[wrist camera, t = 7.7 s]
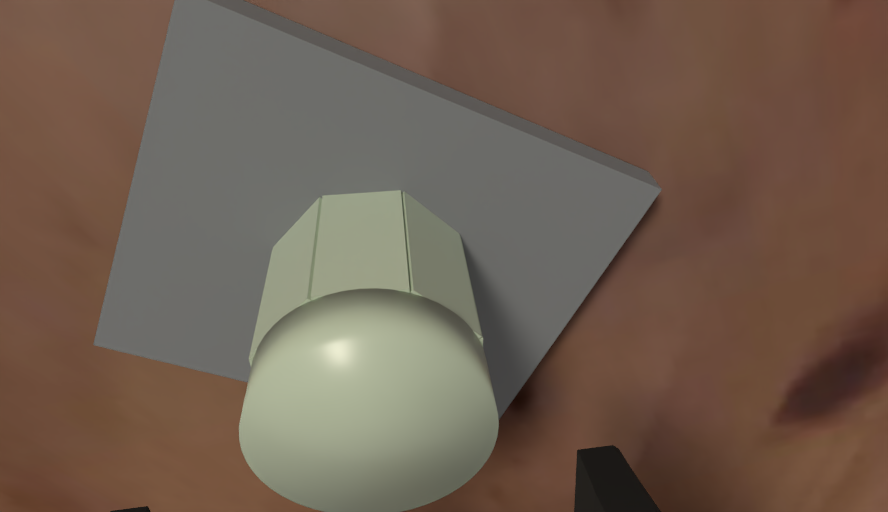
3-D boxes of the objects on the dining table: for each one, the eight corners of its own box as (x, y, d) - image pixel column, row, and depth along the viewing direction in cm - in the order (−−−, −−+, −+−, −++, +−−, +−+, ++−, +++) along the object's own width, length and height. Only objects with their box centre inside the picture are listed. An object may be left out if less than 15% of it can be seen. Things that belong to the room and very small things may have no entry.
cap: (464, 182, 16) (502, 329, 12) (465, 336, 19) (496, 503, 14) (256, 196, 16) (211, 353, 11) (289, 351, 19) (264, 526, 14)
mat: (647, 171, 18) (661, 189, 17) (480, 416, 22) (484, 439, 21) (188, -24, 14) (177, -12, 13) (105, 321, 19) (93, 345, 18)
